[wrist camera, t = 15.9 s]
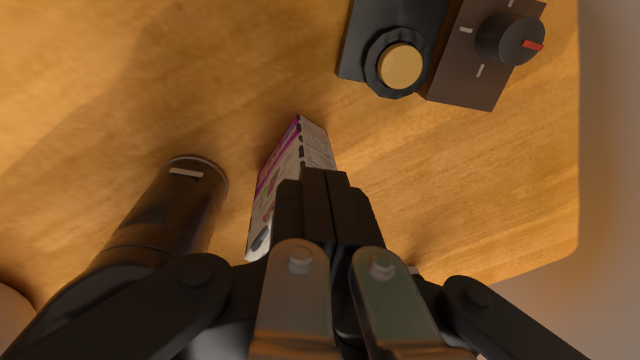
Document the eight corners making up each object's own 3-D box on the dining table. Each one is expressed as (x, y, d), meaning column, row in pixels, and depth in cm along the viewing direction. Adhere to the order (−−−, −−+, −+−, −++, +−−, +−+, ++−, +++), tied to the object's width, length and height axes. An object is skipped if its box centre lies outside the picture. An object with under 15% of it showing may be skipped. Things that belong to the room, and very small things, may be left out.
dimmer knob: (467, 52, 33) (491, 60, 29) (488, 8, 31) (517, 10, 27) (501, 62, 34) (529, 71, 30) (523, 20, 32) (557, 23, 28)
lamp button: (408, 88, 34) (413, 92, 33) (372, 81, 34) (376, 85, 32) (422, 47, 32) (429, 50, 31) (384, 39, 31) (388, 41, 30)
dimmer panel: (481, 105, 40) (494, 113, 37) (416, 93, 38) (426, 100, 36) (531, 0, 34) (552, 0, 31) (457, -20, 32) (472, -21, 30)
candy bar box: (287, 189, 45) (284, 277, 31) (257, 174, 43) (239, 260, 29) (329, 129, 40) (349, 201, 26) (297, 110, 38) (300, 176, 25)
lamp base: (408, 94, 38) (419, 104, 35) (333, 80, 37) (337, 89, 33) (466, -72, 30) (488, -80, 27) (372, -100, 28) (382, -112, 25)
